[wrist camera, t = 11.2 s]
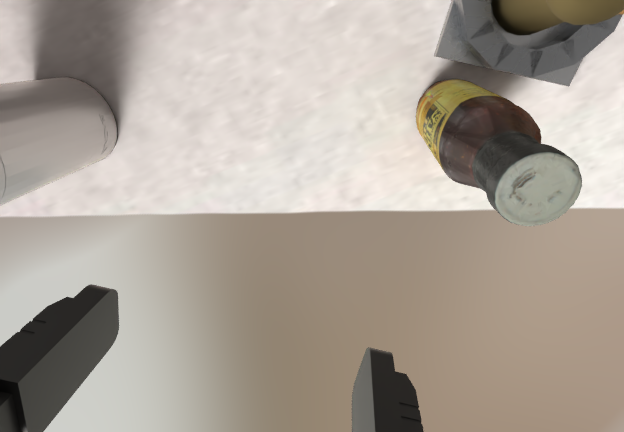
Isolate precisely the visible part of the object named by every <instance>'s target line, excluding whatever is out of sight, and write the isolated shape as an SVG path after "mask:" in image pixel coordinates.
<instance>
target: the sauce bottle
mask: <svg viewBox="0 0 624 432" xmlns="http://www.w3.org/2000/svg"><path fill="white" fill-rule="evenodd" d="M416 123H417V128H418V130H419V133H420V135H421V136H422V138H423V139H424V141H425V142H426V144H427V146H428V147H429V149H430V150H431V152H432V153H433V155H434V157H435V158H436V160H437V161H438V163H439V164H440V166H441V167H442V169H443V170H444V172H445V173H446V174H447V176H448V177H449V178H451V179H452V180H453V181H455V182H458V183H461V184H465V185H469V186H473V187H476V188H480V189H482V190H484V191H485V192H486V193H487V198H488V200H489V202H490V204H491V205H492V206H493V208H494V209H495V210H497V211H498V213H499V214H500V215H501V216H502V217H503V218H505V219H506V220H508V221H509V222H511V223H514V224H519V225H524V226H535V225H542V224H545V223H548V222H551V221H553V220H555V219H557V218H558V217H560V216H561V215H562V214H564V213H566V211H567V210H568V209H569V208H570V207H571V206H572V205H573V204H574V203H575V200H576V199H577V198H578V196H579V193H580V190H581V186H582V178H581V174H580V171H579V168H578V165H577V164H576V163H575V162H574V161H573V160H572V159H571V158H570V157H568V156H567V155H565V154H564V153H563V152H561V151H559V150H557V149H556V148H554V147H552V146H549V145H545V144H541V134H540V129H539V127H538V126H537V124H536V123H535V121H534V120H533V118H532V117H531V116H530V114H528V113H527V112H526V111H525V110H523V109H522V108H520V107H519V106H516V105H515V104H514V103H512V102H511V101H509V100H507V99H505V98H503V97H501V96H499V95H497V94H495V93H492V92H490V91H488V90H486V89H484V88H482V87H479V86H477V85H475V84H473V83H471V82H468V81H464V80H459V79H456V80H454V79H453V80H444V81H440V82H437V83H436V84H434V85H432V86H431V87H430V88H429V89H427V90H426V91H425V93H424V94H423V96H422V97H421V98H420V100H419V102H418V106H417V112H416Z"/></svg>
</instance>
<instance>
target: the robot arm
mask: <svg viewBox="0 0 624 432" xmlns="http://www.w3.org/2000/svg"><path fill="white" fill-rule="evenodd" d="M116 140H117V127H116V121H115V118H114V115H113V113H112V111H111V109H110V107H109V105H108V104H107V102H106V101H105V100H104V98H103V97H102V96H101V95H100V94H99V93H98V92H97V91H96V90H95V89H94V88H92V87H91V86H89V85H88V84H86V83H84V82H82V81H80V80H77V79H73V78H69V77H61V78H51V79H42V80H33V81H23V82H14V83H5V84H0V205H2V204H5V203H7V202H9V201H11V200H14V199H16V198H18V197H20V196H22V195H25V194H27V193H29V192H31V191H34V190H36V189H38V188H40V187H42V186H45V185H47V184H49V183H51V182H54V181H56V180H58V179H60V178H63V177H65V176H67V175H69V174H71V173H74V172H76V171H78V170H81V169H83V168H85V167H87V166H89V165H91V164H94V163H96V162H98V161H100V160H102V159H104V158H106V157H107V156H108V155H109V154H110V153H111V151H112V150H113V148H114V146H115V143H116ZM118 330H119V315H118V293H117V291H116V290H114V289H109V288H105V287H101V286H96V285H88V286H87V287H85V288H84V289H83V290H82V291H81V292H80V293H79V294H78V295H76V296H75V297H74V298H69V297H66V298H64V299H62V300H60V301H58V302H56V303H54V304H52V305H49V306H47V307H46V308H45V309H44V310H43V311H42V312H40V313H39V314H38V315H37V316H36V317H35V318H33V321H32V322H31V321H30V322H29V323H28V324H26V325H25V326H24V327H23V328H22V329H21V331H20V332H17V333H16V334H15V335H13V336H12V337H11V338H10V339H9V340H7V341H6V342H5V343H4V344H3V345H2V346H1V347H0V432H43V431H44V430H45V429H46V428H47V426H48V425H49V424H50V423H51V421H52V420H53V419H54V418H55V416H56V415H57V414H58V413H59V411H60V410H61V409H62V408H63V406H64V405H65V404H66V403H67V401H68V400H69V399H70V398H71V396H72V395H73V394H74V393H75V391H76V390H77V389H78V388H79V386H80V385H81V384H82V383H83V381H84V380H85V379H86V378H87V376H88V375H89V374H90V372H92V370H93V369H94V368H95V366H96V365H97V364H98V363H99V362H100V360H101V359H102V358H103V357H104V355H105V354H106V353H107V352H108V350H109V349H110V348H111V346H112V345H113V343H114V341H115V339H116V337H117V334H118ZM418 408H419V406H418V401H417V395H416V390H415V388H414V386H413V385H412V383H411V381H410V380H409V378H408V376H407V375H406V374H403V373H399V372H395V369H394V361H393V356H392V353H390V352H386V351H382V350H377V349H373V348H367V349H366V352H365V355H364V357H363V360H362V363H361V366H360V369H359V371H358V374H357V377H356V380H355V383H354V388H353V394H352V432H423V426H422V424H421V416H420V411H419V410H418Z"/></svg>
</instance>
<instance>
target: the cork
mask: <svg viewBox="0 0 624 432" xmlns="http://www.w3.org/2000/svg"><path fill="white" fill-rule="evenodd" d="M492 9H493V15H494V17H495V19H496V21H497V23H498V24H499V26H500V27H502V28H503V29H504V30H505V31H506V32H508V33H511V34H515V35H518V36H519V35H531V34H534V33H537V32H539V31H542V30H545V29H547V28H550V27H552V26H555V25H558V24H560V23H563V22H567V23H570V24H573V25H587V24H596V23H599V22H602V21H605V20H608V19H610V18H612V17H614V16H616V15H617V14H619V13H620V12H621V11H623V10H624V0H492Z"/></svg>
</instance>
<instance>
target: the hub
mask: <svg viewBox="0 0 624 432" xmlns="http://www.w3.org/2000/svg"><path fill="white" fill-rule="evenodd" d="M623 14H624V10H623V11H621V12H620V13H619V14H617V15H616V16H614V17H612V18H610V19H608V20H605V21H602V22H599V23H596V24H587V25H573V24H570V23H567V22H563V23H560V24H558V25H555V26H552V27H550V28H547V29H545V30H542V31H539V32H537V33H534V34H531V35H519V36H518V35H515V34H511V33H508V32H506V31H505V30H504V29H503V28H502V27H500V26H499V24H498V23H497V21H496V19H495V17H494V15H493V9H492V0H452V1H451V4H450V7H449V10H448V13H447V17H446V20H445V23H444V26H443V29H442V32H441V35H440V38H439V41H438V45H437V48H436V51H435V54H434V56H436V57H441V58H445V59H450V60H454V61H458V62H463V63H467V64H472V65H476V66H481V67H485V68H489V69H494V70H498V71H503V72H507V73H512V74H516V75H521V76H525V77H529V78H534V79H538V80H543V81H547V82H552V83H556V84H560V85H565V86H569V85H570V83H571V81H572V79H573V77H574V75H575V73H576V71H577V69H578V67H579V65H580V63H581V61H582V59H583V57H584V56H586V55H587V54H588V53H589V52H590V51H591V50H593V49H594V48H595V47H596V46H597V45H598V44H600V43H601V42H602V41H603V40H604V39H605V38H607V37H608V36H609V35H610V34H611V33H612V32H614V30H615V28H616V26H617V24H618V23H619V21H620V19H621V17H622V15H623Z"/></svg>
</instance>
